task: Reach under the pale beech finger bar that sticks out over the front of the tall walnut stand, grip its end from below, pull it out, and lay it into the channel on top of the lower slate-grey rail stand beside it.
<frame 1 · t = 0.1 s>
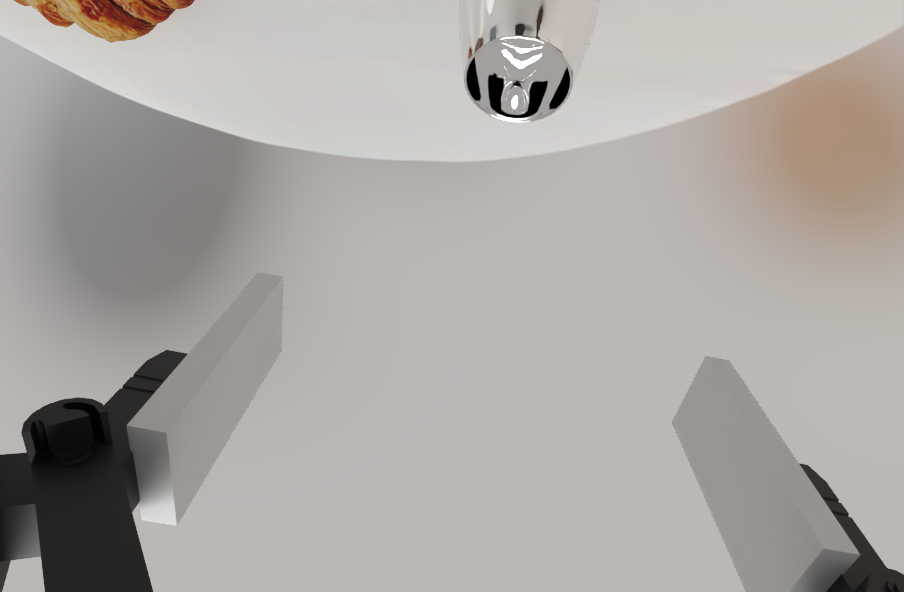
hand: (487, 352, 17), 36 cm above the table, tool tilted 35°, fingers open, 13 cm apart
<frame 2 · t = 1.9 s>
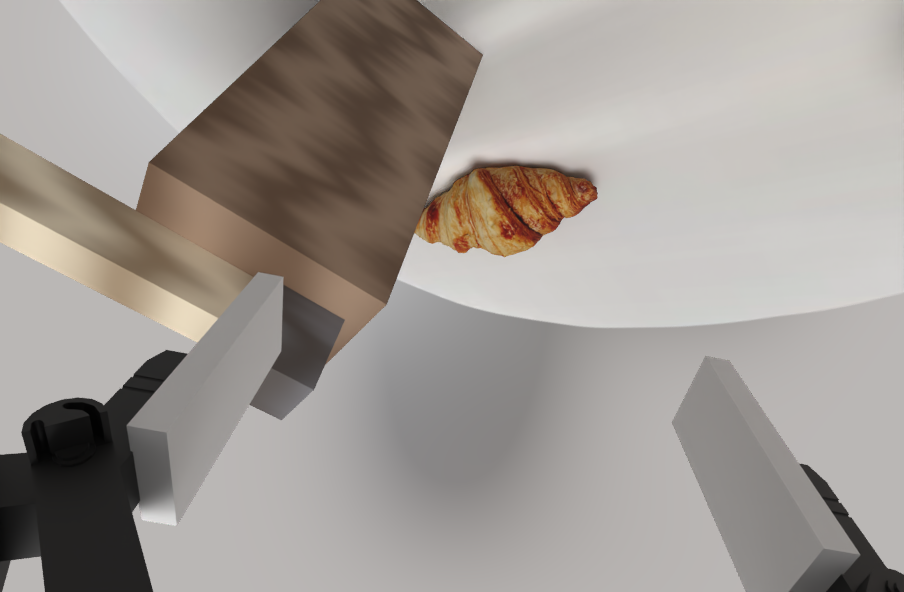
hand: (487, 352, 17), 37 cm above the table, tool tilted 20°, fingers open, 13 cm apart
walnut stand: (397, 55, 48), on the table
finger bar: (150, 239, 26), point 30 cm above the table, touching walnut stand
croissant: (497, 195, 57), on the table
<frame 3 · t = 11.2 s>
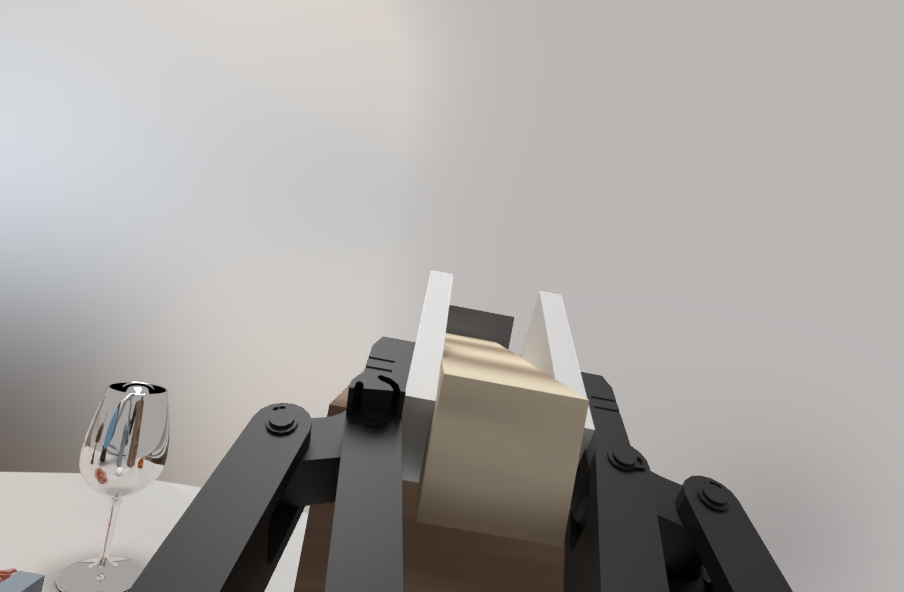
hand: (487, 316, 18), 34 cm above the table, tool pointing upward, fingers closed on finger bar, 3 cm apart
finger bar: (461, 422, 21), point 30 cm above the table, touching gripper, walnut stand
wineglass: (100, 580, 55), on the table
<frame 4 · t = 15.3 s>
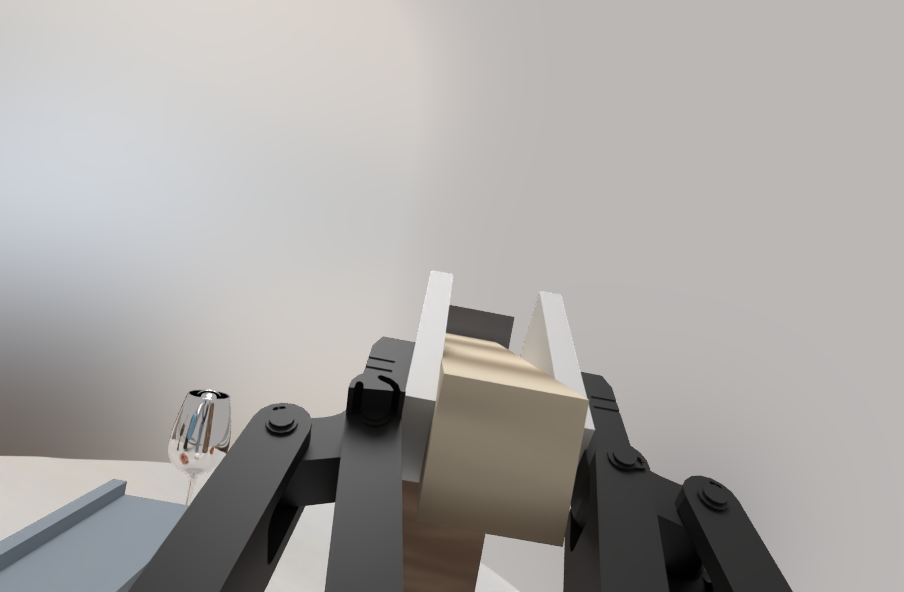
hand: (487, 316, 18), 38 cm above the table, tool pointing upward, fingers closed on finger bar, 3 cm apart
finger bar: (462, 422, 21), point 34 cm above the table, touching gripper
wineglass: (181, 536, 75), on the table
when the fingers open (26 cm above the table, at t = 19.7 s): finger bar drops 2 cm, resting on rail stand.
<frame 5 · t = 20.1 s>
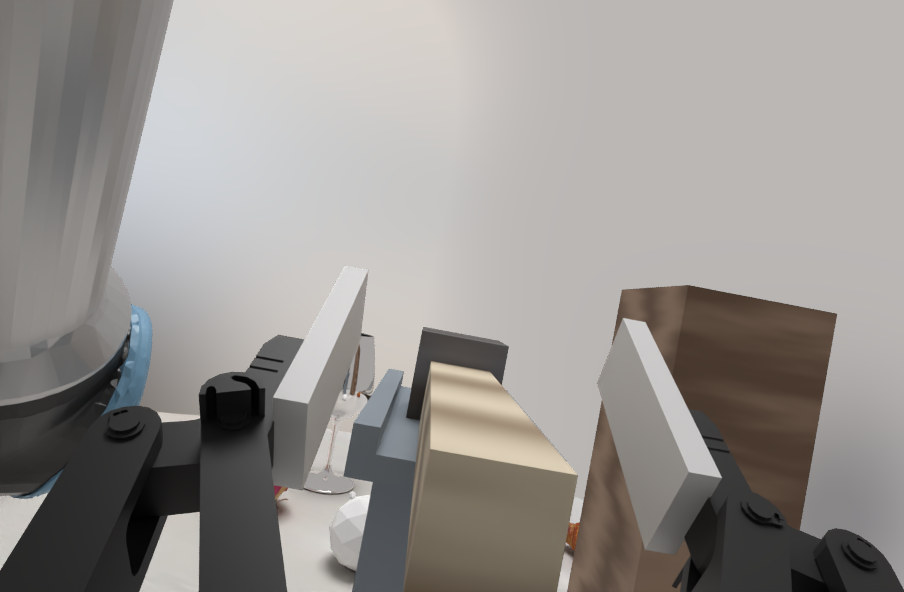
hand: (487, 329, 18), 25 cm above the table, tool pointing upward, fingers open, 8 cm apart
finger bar: (454, 461, 21), point 20 cm above the table, touching rail stand
wineglass: (324, 484, 70), on the table
ornament: (358, 567, 51), on the table
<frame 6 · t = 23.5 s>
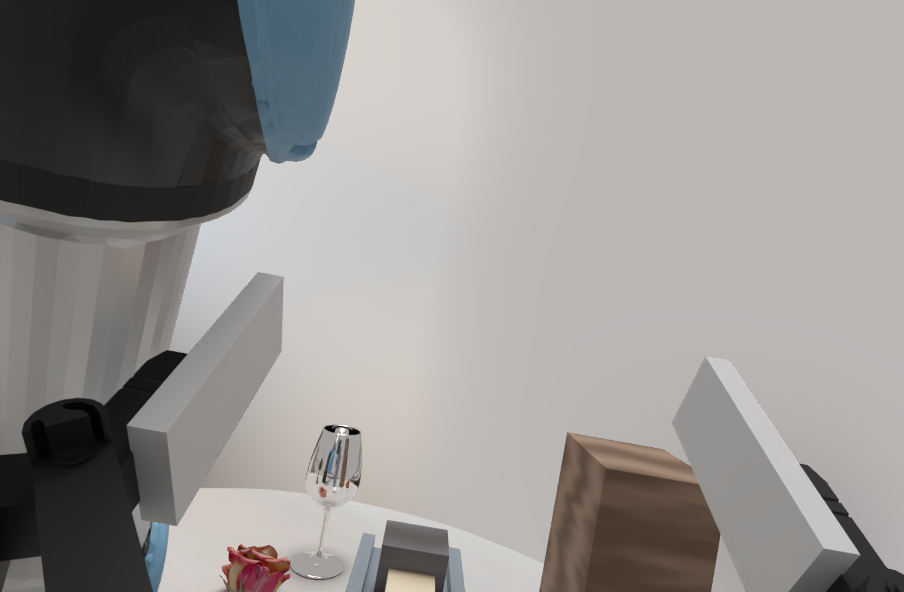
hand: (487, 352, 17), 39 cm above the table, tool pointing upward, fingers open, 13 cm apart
wineglass: (316, 567, 78), on the table
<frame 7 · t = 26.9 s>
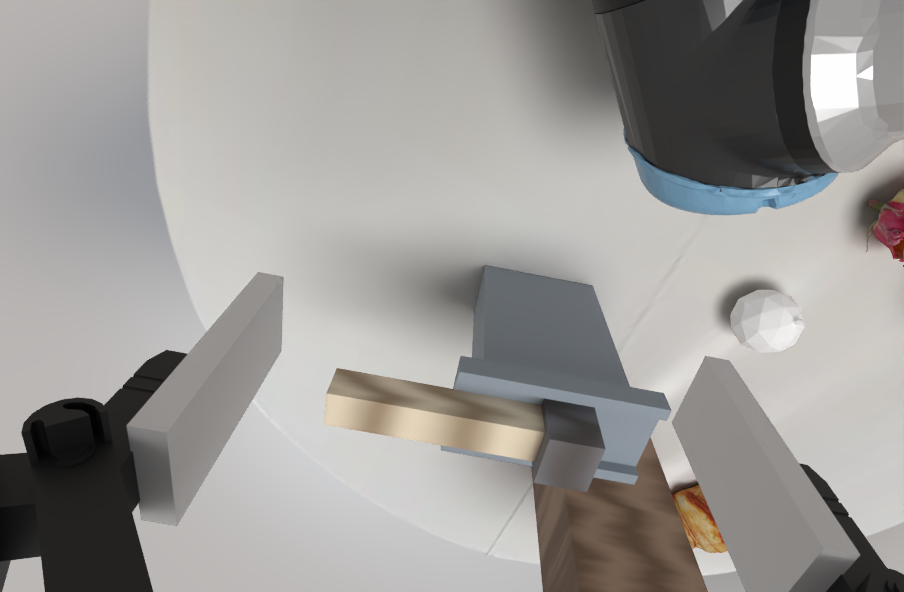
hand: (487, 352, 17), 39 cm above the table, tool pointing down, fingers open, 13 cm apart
walnut stand: (585, 441, 69), on the table
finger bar: (461, 406, 42), point 20 cm above the table, touching rail stand
rail stand: (532, 299, 60), on the table
ornament: (751, 304, 58), on the table
flower: (897, 207, 52), on the table
croissant: (692, 501, 74), on the table
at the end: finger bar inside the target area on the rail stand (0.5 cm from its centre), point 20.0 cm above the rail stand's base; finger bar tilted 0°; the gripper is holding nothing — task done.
